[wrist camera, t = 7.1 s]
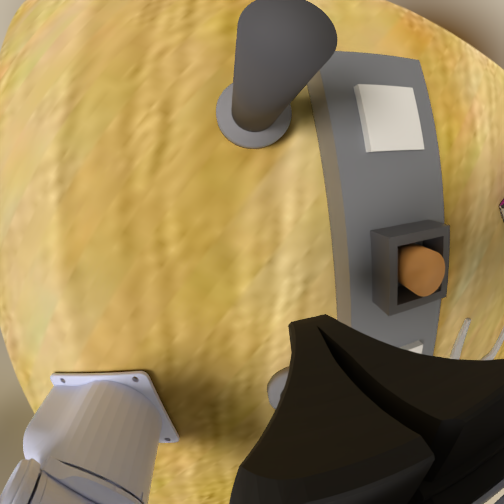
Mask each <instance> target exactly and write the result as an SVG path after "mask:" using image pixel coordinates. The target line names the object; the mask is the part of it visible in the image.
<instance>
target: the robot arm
mask: <svg viewBox="0 0 504 504" xmlns="http://www.w3.org/2000/svg"><path fill="white" fill-rule="evenodd" d="M288 327H289V335H290V343H291V351H292V354H291V361H290V367H289V372H288V376H287V380H286V384H285V387H284V390H283V393H282V395H281V398H280V401H279V403H278V406H277V408H276V410H275V412H274V414H273V416H272V418H271V420H270V422H269V424H268V425H267V427H266V429H265V431H264V432H263V434H262V436H261V438H260V439H259V441H258V442H257V444H256V445H255V446H254V448H253V449H252V450H251V452H250V453H249V454H248V456H247V457H246V458H245V460H244V461H243V462H242V464H241V465H240V466H239V469H238V472H237V475H236V478H235V482H234V485H233V489H232V493H231V497H230V503H229V504H484V503H485V502H487V501H488V500H489V499H490V498H491V497H493V496H494V495H495V494H497V493H498V492H499V491H500V490H501V489H502V488H504V359H497V360H459V359H449V358H442V357H435V356H430V355H425V354H420V353H416V352H412V351H409V350H405V349H402V348H398V347H395V346H392V345H390V344H387V343H385V342H382V341H380V340H377V339H375V338H372V337H370V336H368V335H366V334H363V333H361V332H359V331H357V330H355V329H353V328H351V327H349V326H347V325H346V324H344V323H342V322H340V321H338V320H336V319H334V318H332V317H330V316H328V315H326V314H325V315H320V316H316V317H311V318H307V319H302V320H298V321H293V322H291V323H290V324H289V325H288ZM135 377H137V378H138V379H136V378H135ZM50 379H51V381H52V383H53V385H54V386H53V388H52V389H51V391H50V392H49V394H48V395H47V397H46V398H45V400H44V401H43V403H42V404H41V406H40V407H39V409H38V410H37V412H36V413H35V415H34V416H33V418H32V420H31V421H30V423H29V424H28V426H27V428H26V430H25V433H24V439H23V450H24V455H25V460H21V461H20V462H19V463H18V465H17V466H16V468H15V469H14V471H13V473H12V474H11V476H10V478H9V480H8V482H7V484H6V486H5V487H4V489H3V492H2V494H1V496H0V504H148V499H149V493H150V487H151V481H152V475H153V470H154V464H155V459H156V454H157V448H158V443H170V442H178V441H179V435H178V433H177V431H176V429H175V428H174V426H173V424H172V422H171V420H170V418H169V416H168V414H167V412H166V410H165V408H164V406H163V404H162V402H161V400H160V398H159V396H158V394H157V392H156V390H155V388H154V385H153V383H152V381H151V379H150V377H149V375H148V374H147V373H146V372H144V371H131V372H113V373H52V375H51V376H50ZM495 504H504V495H503V496H502V497H501V498H500V499H499V500H498V501H497V502H495Z"/></svg>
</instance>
